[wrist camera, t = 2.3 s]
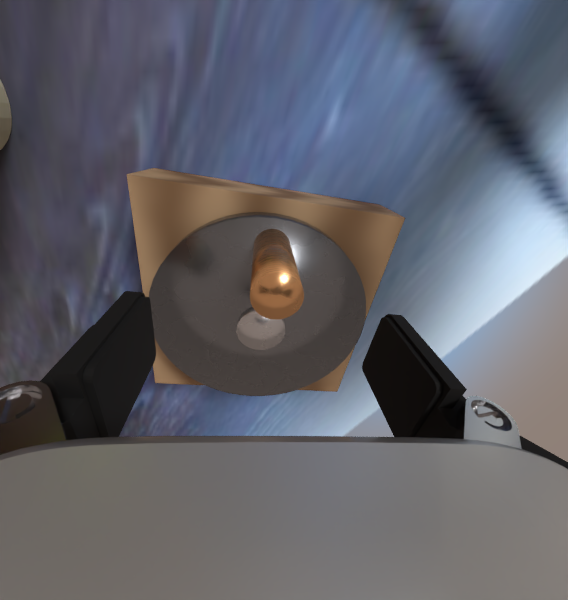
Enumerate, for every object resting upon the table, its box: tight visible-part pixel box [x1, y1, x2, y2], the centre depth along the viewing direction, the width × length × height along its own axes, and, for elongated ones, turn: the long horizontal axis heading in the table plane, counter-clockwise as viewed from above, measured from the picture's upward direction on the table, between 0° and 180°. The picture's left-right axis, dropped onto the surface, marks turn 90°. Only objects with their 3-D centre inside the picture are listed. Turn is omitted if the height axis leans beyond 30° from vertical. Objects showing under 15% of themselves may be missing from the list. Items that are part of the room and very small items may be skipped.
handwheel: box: [149, 212, 366, 396], centre depth 20 cm, size 18×18×9 cm
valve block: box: [127, 168, 405, 392], centre depth 26 cm, size 20×20×5 cm
